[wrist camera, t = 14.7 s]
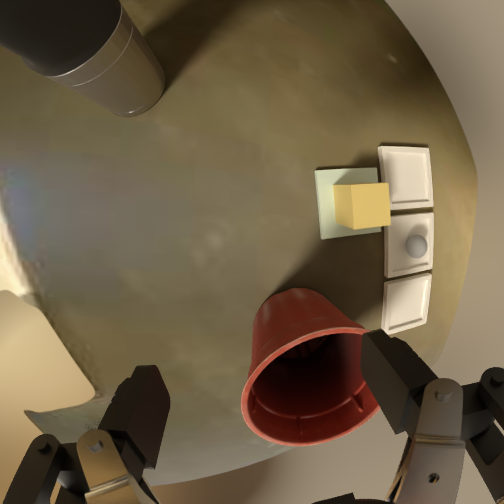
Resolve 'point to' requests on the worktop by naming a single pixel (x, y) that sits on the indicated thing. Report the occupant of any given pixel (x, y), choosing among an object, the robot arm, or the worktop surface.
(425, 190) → the dish
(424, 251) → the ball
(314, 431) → the flower pot
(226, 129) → the worktop surface
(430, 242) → the dish
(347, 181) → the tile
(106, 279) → the worktop surface
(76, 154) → the worktop surface
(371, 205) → the letter block
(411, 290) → the dish
